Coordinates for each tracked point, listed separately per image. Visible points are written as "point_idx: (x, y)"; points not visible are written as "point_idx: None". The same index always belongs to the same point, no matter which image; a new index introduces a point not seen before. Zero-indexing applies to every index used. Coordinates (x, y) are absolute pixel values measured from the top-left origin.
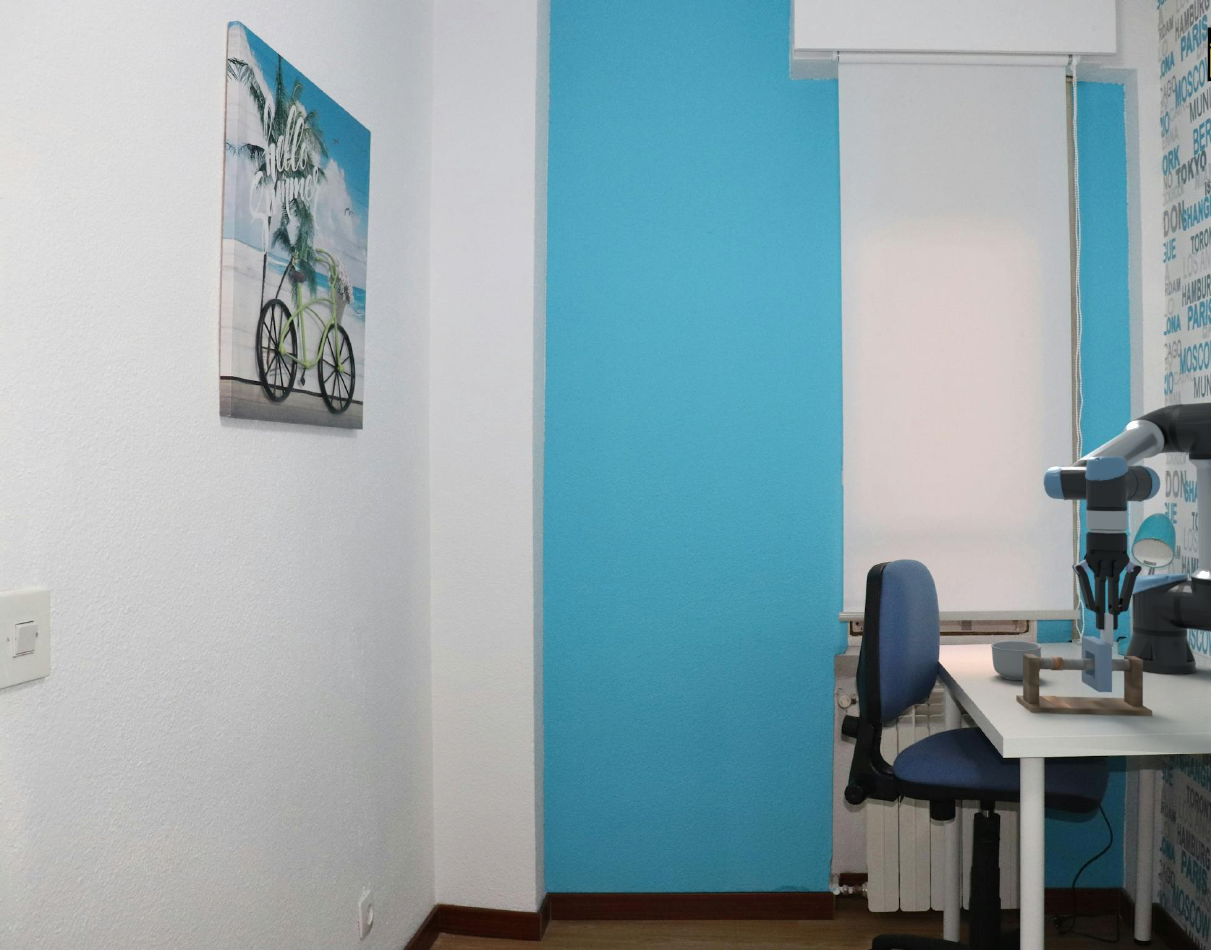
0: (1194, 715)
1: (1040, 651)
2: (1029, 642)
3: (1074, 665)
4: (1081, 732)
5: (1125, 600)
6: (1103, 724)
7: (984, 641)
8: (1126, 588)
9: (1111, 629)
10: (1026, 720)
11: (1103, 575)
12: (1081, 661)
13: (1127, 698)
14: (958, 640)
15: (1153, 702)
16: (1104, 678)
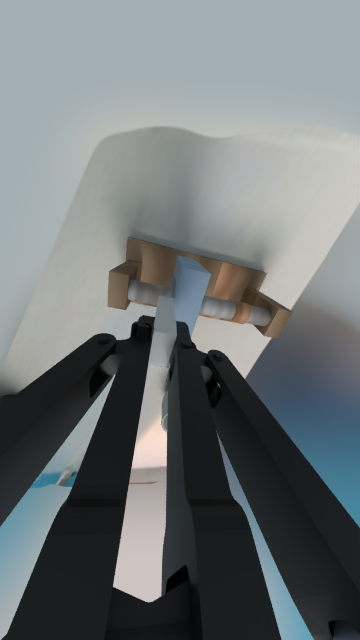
0: (69, 232)
1: (166, 409)
2: (165, 429)
3: (218, 299)
4: (278, 161)
5: (86, 363)
6: (219, 202)
7: (141, 472)
8: (35, 429)
9: (160, 311)
10: (296, 237)
11: (236, 608)
12: (209, 300)
13: (139, 278)
14: (158, 473)
15: (94, 299)
16: (189, 260)
